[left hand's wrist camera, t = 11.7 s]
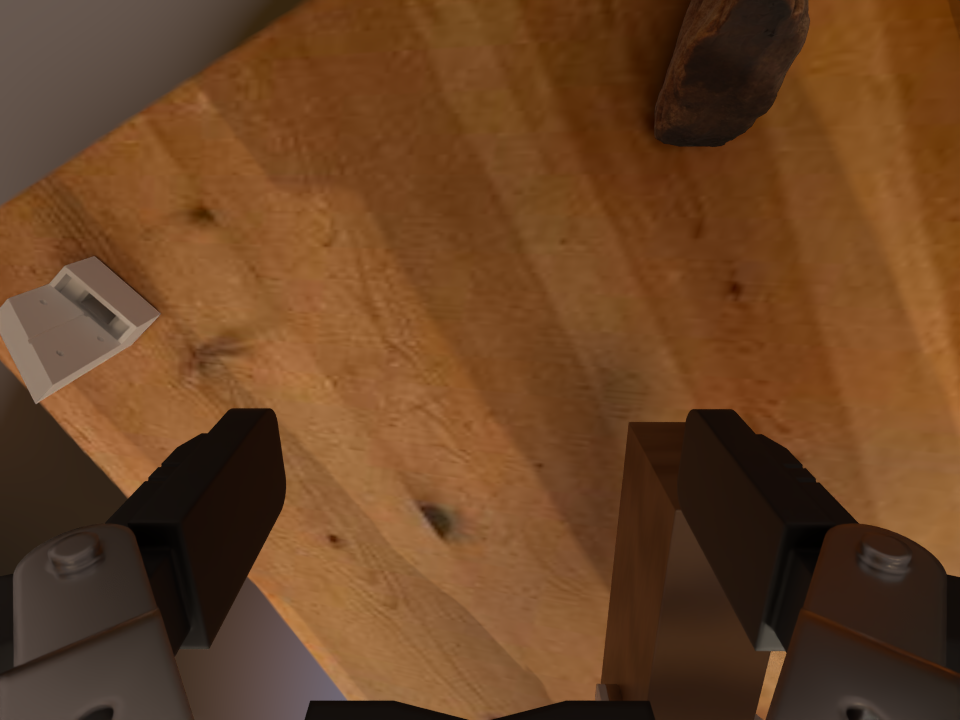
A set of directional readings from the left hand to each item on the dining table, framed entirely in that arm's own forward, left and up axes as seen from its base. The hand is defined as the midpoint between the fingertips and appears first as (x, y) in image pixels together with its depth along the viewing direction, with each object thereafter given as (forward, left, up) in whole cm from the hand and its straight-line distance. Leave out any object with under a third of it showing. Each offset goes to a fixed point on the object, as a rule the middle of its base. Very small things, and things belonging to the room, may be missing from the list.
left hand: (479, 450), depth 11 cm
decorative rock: (-11, +14, -31) cm, 36 cm away
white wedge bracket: (+6, -27, -31) cm, 41 cm away
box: (+21, +12, -21) cm, 32 cm away
